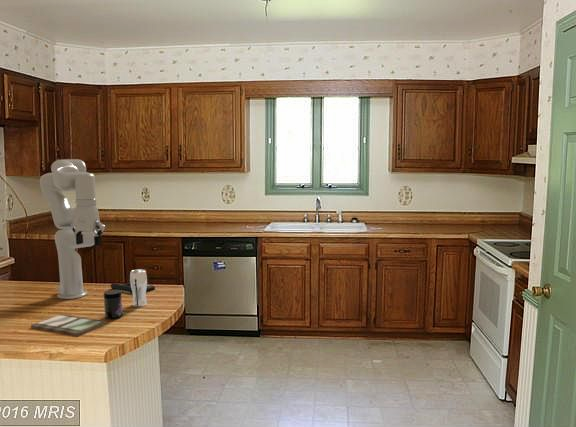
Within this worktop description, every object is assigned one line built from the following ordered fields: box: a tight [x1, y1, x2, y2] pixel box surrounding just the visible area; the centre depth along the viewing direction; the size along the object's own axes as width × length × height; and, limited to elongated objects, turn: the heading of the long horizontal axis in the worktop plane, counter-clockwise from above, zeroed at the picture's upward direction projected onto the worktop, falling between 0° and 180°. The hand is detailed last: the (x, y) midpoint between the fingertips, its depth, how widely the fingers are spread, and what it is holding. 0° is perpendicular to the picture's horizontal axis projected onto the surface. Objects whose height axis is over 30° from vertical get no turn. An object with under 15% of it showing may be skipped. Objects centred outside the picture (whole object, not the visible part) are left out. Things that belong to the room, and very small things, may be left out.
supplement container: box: [103, 289, 123, 320], centre depth 195 cm, size 7×7×10 cm
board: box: [30, 313, 108, 337], centre depth 186 cm, size 24×14×1 cm, turn 67°
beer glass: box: [129, 268, 148, 308], centre depth 211 cm, size 7×7×15 cm
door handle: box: [110, 282, 156, 294], centre depth 237 cm, size 3×20×16 cm
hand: (88, 244), depth 201 cm, fingers open, 9 cm apart
